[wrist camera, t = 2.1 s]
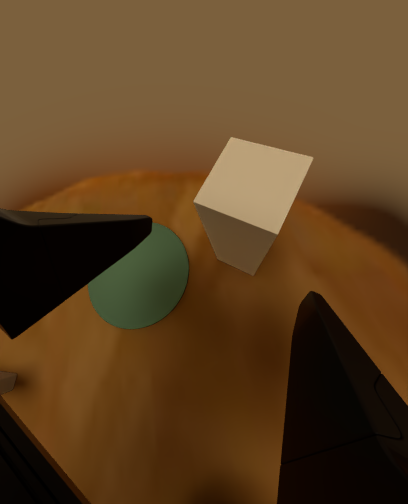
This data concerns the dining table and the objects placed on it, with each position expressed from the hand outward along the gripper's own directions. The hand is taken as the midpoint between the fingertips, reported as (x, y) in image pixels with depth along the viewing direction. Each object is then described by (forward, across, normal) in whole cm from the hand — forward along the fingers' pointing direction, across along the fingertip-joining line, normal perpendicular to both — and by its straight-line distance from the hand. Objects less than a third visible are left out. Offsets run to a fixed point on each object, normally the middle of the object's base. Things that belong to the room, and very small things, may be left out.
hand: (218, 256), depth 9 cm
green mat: (+5, +10, +10) cm, 15 cm away
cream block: (+10, 0, +5) cm, 11 cm away
